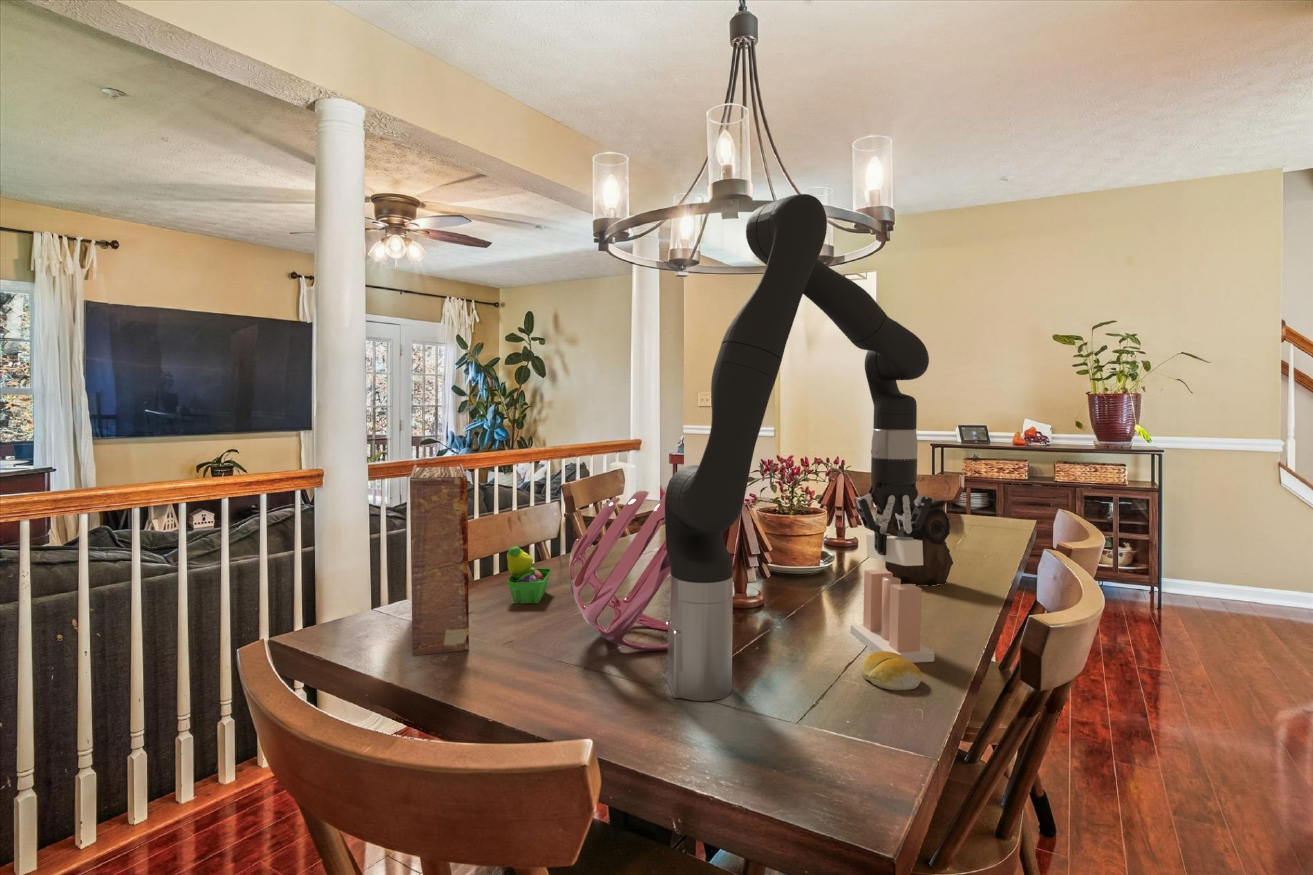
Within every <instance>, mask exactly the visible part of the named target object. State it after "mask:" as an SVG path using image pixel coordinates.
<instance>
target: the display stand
mask: <svg viewBox="0 0 1313 875" xmlns="http://www.w3.org/2000/svg"><path fill="white" fill-rule="evenodd" d="M863 572H864V573H863V582H864V583H863V612H862V613H863V615H862V616H863V620H862V621H863V623H862V624H850V629H849V630H850V631H849V632H850V634H851V635H852V636H854V637H855V638H856V639H858V640H859V641H860V642H861V643H862V644H864V645H865V646H866V647H867V648H869V650H871V651H872V652H873V653H875V652H880V651H888V652H893V653H896V654H899V655H900V656H901V657H903V658H904V659H907V660H909V661H911V662H912V663H913V664H916V663H929V662H931V663H933V662H935V652H934V651H933V650H932V649H930V648H929V647H927V646H925V645H924V644H922V643H921V629H922V628H921V627H922V626H921V625H922V595H923V593H922V590H923V588H921V587H920V586H916V585H914V584H901V579H899V578H896V577H893V573H891V572H889V571H887V569H886V568H885V569H884V568H883V569H864V570H863Z"/></svg>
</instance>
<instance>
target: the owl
mask: <svg viewBox="0 0 1313 875" xmlns="http://www.w3.org/2000/svg"><path fill="white" fill-rule="evenodd" d="M945 504H946V500H944V499H939V500H932V503H931V506H930V508H929V511H928V513H927V515H926V518H925V520H924V523H923V525H922V527H921V529H919V530H917V529H916V530H914V531H912V532H911V533H910V537H912V538H913V539H915V540H922V545H923V565H916V566H903V565H899V564H895V563H891V562H887V561H884V565H885V566H884V568H885V570H887V571H889V572H891V573H893V577H896V578H899V579H901V584H916V585H928V586H927V587H929V586H932V585H937V584H945V583H946V584H947V581H948V578H949V575H950V572H951V569H952V566H953V565H954V561H953V557H952V555H951V550H950V549H949V548H948V546H947V542H946V540H947V538H948V537H949V535H951V525H950V523H951V522H950V518H949V517H948V515H947V513H946V511H945V508H944V507H945ZM915 506H916V505H915V501H914V502H913V504H912V505H911V507H910V512H911V515H912V513H913V511H914V508H915ZM898 532H900V530H899V527H898V521H897V518H896V516H895V514H891V518H890V521H889V522H888V526H887V531H886V533H885V534H890V536H896V537H897V535H898ZM946 584H945V585H946ZM916 585H915V586H916ZM932 587H933V586H932Z"/></svg>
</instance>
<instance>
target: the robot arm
mask: <svg viewBox="0 0 1313 875" xmlns="http://www.w3.org/2000/svg"><path fill="white" fill-rule="evenodd" d="M827 229H828V218H827V212H826V210H825V208H824V205H823V204H822V202H821V200H819V199H818V197H816V196H814V195H812V194H807V193H800V194H794V195H789V196H786V197H783V198H780V199H778V200H774V201H771V202H768V203H766V204H763V205H761V206H759V207H757V209H755V210H753V212H752V213H751V214H750V215H749V217H748V218H747V223H746V228H745V237H746V238H745V239H746V241H747V244H748V247H749V248H750V251H751V252H752V253H753V254H754V255H755V257H756V258H757V259H758V260H759V261H760V262H762V263H763V264H764V265H765V266H766V267H765V268H764V269H765V270H764V272H763V274H762V276H761V279H760V280H759V282H758V284H757V286H756V287H755V289H754V290H753V292H752V293H751V295H750V296H749V297H748V299H747V300H746V302H745V303H744V304H743V305H742V307H741V308H740V309H739V311H738V312H737V313H736V315H735V316H734V318H732V321H731V323H730V325H729V326H728V327H727V329H726V331H725V334H724V336H723V339H722V341H721V344H720V348H719V350H718V353H717V357H716V360H715V363H714V366H713V370H712V374H711V386H710V398H711V403H710V404H711V427H710V431H709V436H708V440H707V443H706V445H705V449H704V453H703V455H702V458H701V460H700V463H699V465H696V464H695V465H686V466H684V467H681V468H680V469H678V470H677V471H676V472H674V474H673V475H672V476H671V478H670V479H669V481H668V484H667V486H666V490H665V494H666V495H665V521H664V525H665V526H664V528H665V529H664V530H665V531H664V532H665V540H666V550H667V554H668V557H669V561H670V567H671V572H670V601H669V602H670V607H669V608H670V610H669V612H670V615H669V616H670V617H669V618H670V619H669V620H668V621H667V622H668V630H667V643H668V649H667V684H668V687H669V689H670V692H671V694H672V697H673V698H674V699H684V700H689V701H695V702H696V701H697V702H708V701H709V702H710V701H717V700H721V699H723V698H726V697H727V696H728V695H730V694H731V692H732V689H733V688H732V687H733V686H732V684H733V602H734V601H733V596H734V595H733V593H734V592H733V591H734V586H733V584H734V579H733V578H734V560H733V557H732V556H731V554H730V552H729V550H728V549H727V547H726V545H725V542H724V539H723V533H724V532H725V531H727V530H728V529H730V528H731V527H732V526H733V525H734V524H735V523H736V521H737V519H738V518H739V515H740V514H741V511H742V508H743V506H744V502H745V497H746V492H747V488H748V482H749V477H750V471H751V466H752V461H753V457H754V452H755V448H756V444H757V441H758V437H759V435H760V432H761V431H760V430H761V428H762V425H763V421H764V418H765V415H766V412H767V407H768V404H769V401H770V399H771V395H772V392H773V389H774V386H775V383H776V380H777V378H778V374H779V370H780V368H781V365H782V360H783V358H784V357H783V356H784V353H785V350H786V346H787V342H788V339H789V336H790V333H791V330H792V327H793V325H794V321H795V318H796V315H797V312H798V309H799V306H800V303H801V301H802V298H803V295H804V297H806V298H808V299H809V300H810V301H811V302H812V303H813V304H814V305H815V306H816V307H817V308H819V309H820V310H821V311H822V312H823V313H824V314H826V316H827V317H828V318H829V319H830V320H831V321H832V322H833V323H834V325H836V327H837V328H838V329H839V330H840V331H841V333H843V334H844V336H846V338H847V339H849V341H850V342H851V344H853V345H854V346H855V347H857V348H858V349H860V350H863V351H866V355H865V357H864V371H865V377H866V380H867V383H868V387H869V389H868V390H869V392H870V395H871V400H872V403H873V423H872V424H873V431H872V432H873V433H872V437H871V449H870V456H871V460H870V461H871V462H870V465H871V466H870V468H871V469H870V483H871V486H870V488H869V489H868V493H867V494H865V495H863V496H861V497H860V496H856V497H854V504H855V507H856V509H857V512H858V514H859V516H860V519H861V521H862V525H863V527H864V528H865V529H867V530H870V531H872V532H874V534H875V545H874V548H875V550H876V551H877V553H878V554H880V555H886V543H887V534H885V533H886V531H887V526H888V522H889V521H890V518H891V514H895V516H896V518H897V521H898V527H899V530H900V532H898V535H897V537H910V533H911V532H912V531H914V530H916V529H917V530H919V529H921V527H922V525H923V523H924V520H925V518H926V515H927V513H928V511H929V508H930V506H931V503H932V501H933V499H932V497H929V496H926V495H922V494H921V493H919V491H918V488H917V486H916V484H917V480H918V449H919V448H918V443H919V442H918V435H917V425H918V424H917V423H918V422H917V418H918V417H917V416H918V415H917V414H918V413H917V412H918V408H917V407H918V406H917V405H918V404H917V400H916V399H915V397H913V396H911V395H909V394H905V393H902V392H901V391H900V389H899V386H898V383H897V381H912V380H916V379H918V378H920V377H922V376H923V375H924V374H925V373H926V371H927V370H928V367H929V365H930V364H929V363H930V357H929V352H928V349H927V347H926V345H925V344H924V342H923V341H922V340H921V339H920V338H919V337H918V336H917V335H916V334H915V333H914V332H912V331H910V330H909V329H907V328H906V327H905V326H904V325H902V324H901V323H899V322H897V321H895V320H894V319H893V318H891V317H889V316H888V315H887V313H886V312H885V311H884V310H883V308H882V307H881V306H880V305H879V304H878V302H877V301H876V299H874V297H872V296H871V294H870V293H869V292H867V290H865V289H864V288H863V287H861V286H860V285H859V284H857V283H856V282H854V281H853V280H851V279H850V278H848V277H846V276H845V275H842V274H841V273H839V272H837V271H836V270H834V269H832V268H831V267H829V266H828V265H826V264H825V263H824V262H823V261H821V260H820V259H819V256H820V254H821V252H822V249H823V246H824V244H825V240H826V237H827V232H828V230H827ZM914 501H915V505H916V506H915V508H914V511H913V513H912V515H911V512H910V507H911V505H912V504H913V502H914ZM871 502H873V504H874V506H875V512H874V516H873V514H872V511H871V509H870V508H871V507H872V503H871ZM874 518H875V519H874Z"/></svg>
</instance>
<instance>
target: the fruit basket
mask: <svg viewBox="0 0 1313 875" xmlns="http://www.w3.org/2000/svg"><path fill="white" fill-rule="evenodd" d="M506 560H507V569H508V572H509V573H510V574H511V576H510V577H509V578H508V579H507V585H508V586H509V589H510V594H511V598H512V601H513V603H514V604H516V605H517V604H524V603H532V604H534V603H538V604H539V603H540V601H541V600H542V598H543V596H544V594H545V593H546V592H547V587H548V582H549V579H550V575H551V573H552V569H551V568H548V567H546V568H545V567H532V565H533V563H534V559H533V557H532V556H531V555H529V554H528V553H527V552H526V551H524V550H523V549H521V548H520V547H519V546H513V547H509V548H508V552H507V554H506Z"/></svg>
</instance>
